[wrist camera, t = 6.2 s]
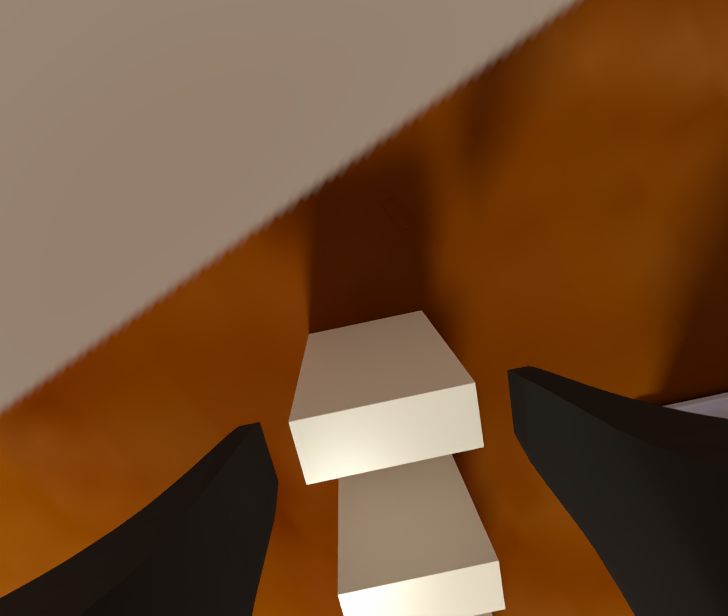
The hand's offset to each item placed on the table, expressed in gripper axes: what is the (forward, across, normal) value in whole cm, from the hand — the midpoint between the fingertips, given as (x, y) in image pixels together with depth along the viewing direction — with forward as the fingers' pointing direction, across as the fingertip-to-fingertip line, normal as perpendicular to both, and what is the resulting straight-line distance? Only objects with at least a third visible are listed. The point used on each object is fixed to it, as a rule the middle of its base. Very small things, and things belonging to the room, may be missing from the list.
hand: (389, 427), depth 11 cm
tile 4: (+6, 0, +6) cm, 9 cm away
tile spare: (+6, 0, 0) cm, 6 cm away
